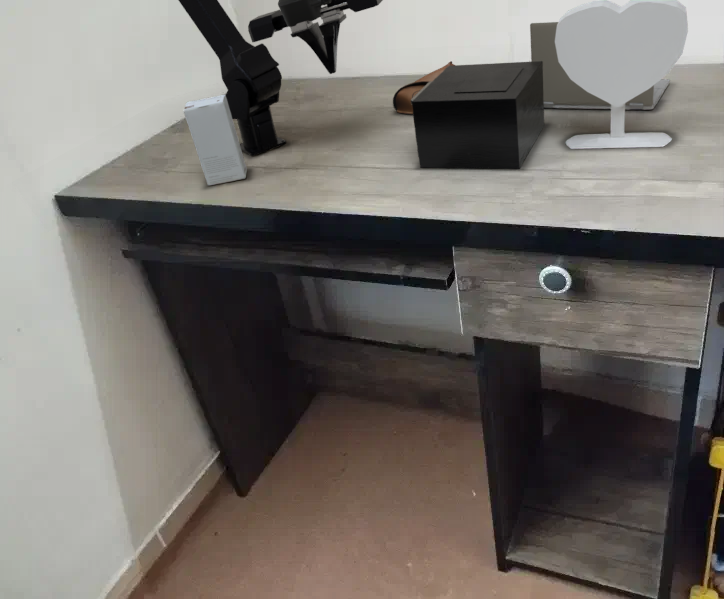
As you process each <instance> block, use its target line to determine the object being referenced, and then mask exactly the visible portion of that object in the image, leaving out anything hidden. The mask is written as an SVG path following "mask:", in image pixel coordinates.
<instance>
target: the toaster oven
mask: <svg viewBox="0 0 724 599" xmlns="http://www.w3.org/2000/svg"><path fill="white" fill-rule="evenodd" d="M411 105H412V107H413V115H412V117H413V127H414V134H415V142H416V148H417V156H418V162H419V168H420V169H482V170H483V169H486V170H487V169H488V170H489V169H490V170H491V169H492V170H493V169H494V170H495V169H496V170H498V169H499V170H520V169H521V167H522V165H523V163H524V162H525V160H526V158H527V157H528V155H529V153H530V151H531V149H532V148H533V146H534V144H535V143H536V141H537V139H538V137H539V136H540V134H541V132H542V130H543V128H544V127H545V107H544V97H543V63H542V61H534V62H531V61H517V62H516V61H515V62H495V63H476V64H454V66H448V67H447V68H446V69H445V70H444V71H443V72H442V73H441V74H440V75H439V76H438V77H437V78H435V79H434V80H433V81H430V82H429V83H427V84H426V85H425V86H424V87H423V88H422V89H421V90H420V91H419V92H418V93H417V94H416V95H415V96H414V97H413V98H412V99H411Z"/></svg>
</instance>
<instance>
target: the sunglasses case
mask: <svg viewBox="0 0 724 599" xmlns="http://www.w3.org/2000/svg"><path fill="white" fill-rule="evenodd" d="M454 65H455V64H454V63H453V61H449V62H447V64H445V65H443V66H441V67H440V68H438V69H436V70H433V71H431V72H429V73H427V74H425V75H424V76H422V77H420V78H419V79H417V80H415V81H413V82H411V83H407V84H405V85H403V86H402V87H400V88H399V89H397V91H395V93H394V95H393V98H392V106H393V108H394V111H395V112H396V113H398V114H404V115H411V116H413V107H412V105H411V99H412V98H413V97H414V96H415V95H416V94H417V93H418V92H419V91H420V90H421V89H422V88H423V87H424V86H425V85H426V84H427V83H429V82H430V81H433V80H434V79H435V78H437V77H438V76H439V75H440V74H441V73H442V72H443V71H444V70H445V69H446V68H447V67H448V66H454Z"/></svg>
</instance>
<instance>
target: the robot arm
mask: <svg viewBox="0 0 724 599" xmlns="http://www.w3.org/2000/svg"><path fill="white" fill-rule="evenodd" d="M383 1H384V0H278V2H277V7H278V8H279V9H276V10H274V11H270V12H267V13H264V14H261V15H257V16H256V17H254V18H253V19H251V20H249V23H248V26H247V29H248V30H247V32H248V35H249V37H250V39H251V42H252V43H257V42H260V41H263V40H267V39H270V38H273V36H274V35H275V33H276V32H279V31H283V29H286V28H290V31H291V33H290V36H291V37H292V38H297V37H298V38H300V39H301V40H302V41H304V42H305V43H306V44H307V45H308V46H309V48H310V49H311V50H312V51H313V53H314V54H315V56H316V57H317V58H318V60H319V62H320V63H321V64H322V65H323V67H324V68H325V69H326V71H327V72H328V74H329V75H332V74H336V72H337V61H338V43H339V42H338V40H339V33H340V27H341V24H342V23H343V22H344V21H345V20H346V19H347V18H348V16H347V14H346V13H344V12H345V11H346V10H350V11H352V12H354V13H358V12H362V11H365V10H368V9H372V8H374V7H378V6H379V5H380V4H381V3H382V2H383ZM178 2H179V4H180V5H181V6H182V8H183V9H184V11H185V12H186V14H187V15H188V17H189V18H190V20H192V22H193V23H194V24H195V27H196V28H197V30H198V31H199V32H200V33H201V35H202V36H203V38H204V39H205V40H206V42H207V44H208V45H209V46H210V48H211V49H212V51H213V52H214V54H215V55H216V56H217V58H218V60H219V66H220V74H221V80H222V82H223V84H224V86H225V87H226V89H227V92H226V93H225V95H226V98H227V102H228V105H229V109H230V112H231V115H232V119H233V120H236V122H237V126H238V131H239V134H240V138H241V141H242V142H241V143H240V147H241V150H242V153H245V154H246V155H249V156H251V157H253V156H256V155H260V154H263V153H266V152H267V151H270V150H273V149H275V148H279V147H281V146H284V145H286V144H287V141H286V140H285V139H284V138H281V137H279V136H277V132H276V127H275V123H274V118H273V115H272V111H271V106H272V105H274V104H277V103H279V101H280V91H281V87H282V79H283V76H282V72H281V71H280V69H279V67H278V66H280V63H279V62H278V61H276V60H275V59H274V58H273V56H272V54H271V53H270V51H269V49H268V47H267V46H266V45H265V44H264V43H259V44H258V45H254V44H251V43H250V42H249V41H246V39H245V38H244V37H243V35H242V33H241V32H240V31H239V29H238V28H237V26H236V24H234V22H233V21H232V19H231V18H230V17H229V15H228V14H227V12H226V11H225V9H224V8H223V6H222V5H221V3H220V2H219V0H178ZM319 18H320V19H321V20H322V23H321V24H319V22H318V21H317V22H314V21H315V20H317V19H319Z"/></svg>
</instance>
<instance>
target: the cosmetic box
mask: <svg viewBox="0 0 724 599" xmlns="http://www.w3.org/2000/svg"><path fill="white" fill-rule="evenodd" d="M182 112H183V114H184V117H185V120H186V123H187V126H188V129H189V133H190V135H191V138H192V142H193V144H194V148H195V150H196V154H197V157H198V160H199V163H200V166H201V169H202V172H203V176H204V178H205V182H206V185H207V186H215V185H220V184H224V183H229V182H234V181H239V180H244V179H246V178H247V171H248V168H247V164H246V162H245V158H244V154H243V151H242V150H241V147H240V144H241V143H240V140H239V136H238V133H237V129H236V127H235V122H234V119H232V115H231V112H230V109H229V105H228V102H227V98H226V94H221V95H215V96H210V97H204V98H201V99H196V100H195V99H194V100H190V101H187V102H186V103H185V105H184V108H183V111H182Z"/></svg>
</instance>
